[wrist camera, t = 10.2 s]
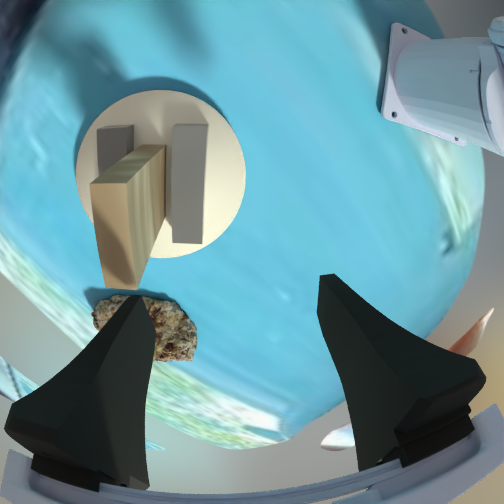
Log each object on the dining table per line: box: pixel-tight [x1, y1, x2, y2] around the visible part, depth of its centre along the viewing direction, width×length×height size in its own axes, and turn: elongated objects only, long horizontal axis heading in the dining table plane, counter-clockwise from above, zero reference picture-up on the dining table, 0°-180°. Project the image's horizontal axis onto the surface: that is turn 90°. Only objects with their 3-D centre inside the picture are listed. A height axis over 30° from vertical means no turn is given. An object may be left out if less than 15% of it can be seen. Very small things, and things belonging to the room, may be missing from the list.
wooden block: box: [89, 144, 166, 290], centre depth 14 cm, size 2×5×8 cm, turn 173°
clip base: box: [76, 90, 246, 258], centre depth 17 cm, size 12×12×2 cm
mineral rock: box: [91, 295, 197, 362], centre depth 25 cm, size 11×4×8 cm
